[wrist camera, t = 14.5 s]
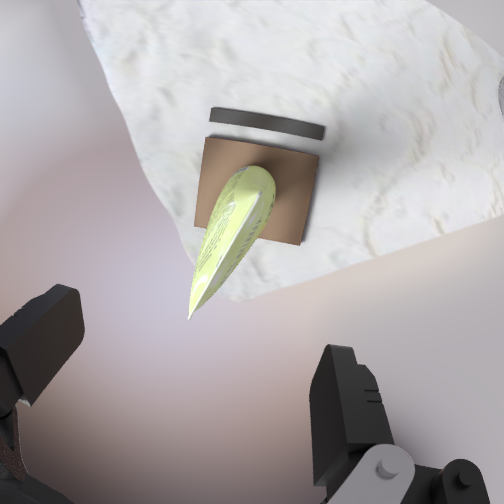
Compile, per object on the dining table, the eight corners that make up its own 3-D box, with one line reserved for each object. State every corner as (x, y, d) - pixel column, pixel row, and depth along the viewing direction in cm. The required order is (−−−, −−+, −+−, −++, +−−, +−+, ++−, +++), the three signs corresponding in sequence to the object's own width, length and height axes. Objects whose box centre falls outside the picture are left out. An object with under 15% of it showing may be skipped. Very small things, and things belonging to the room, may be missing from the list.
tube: (281, 212, 33) (284, 309, 15) (235, 220, 33) (186, 322, 15) (271, 160, 31) (261, 193, 13) (223, 169, 32) (151, 216, 13)
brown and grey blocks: (323, 127, 30) (324, 126, 29) (299, 243, 35) (299, 245, 34) (211, 108, 30) (210, 107, 29) (195, 224, 35) (193, 226, 34)
